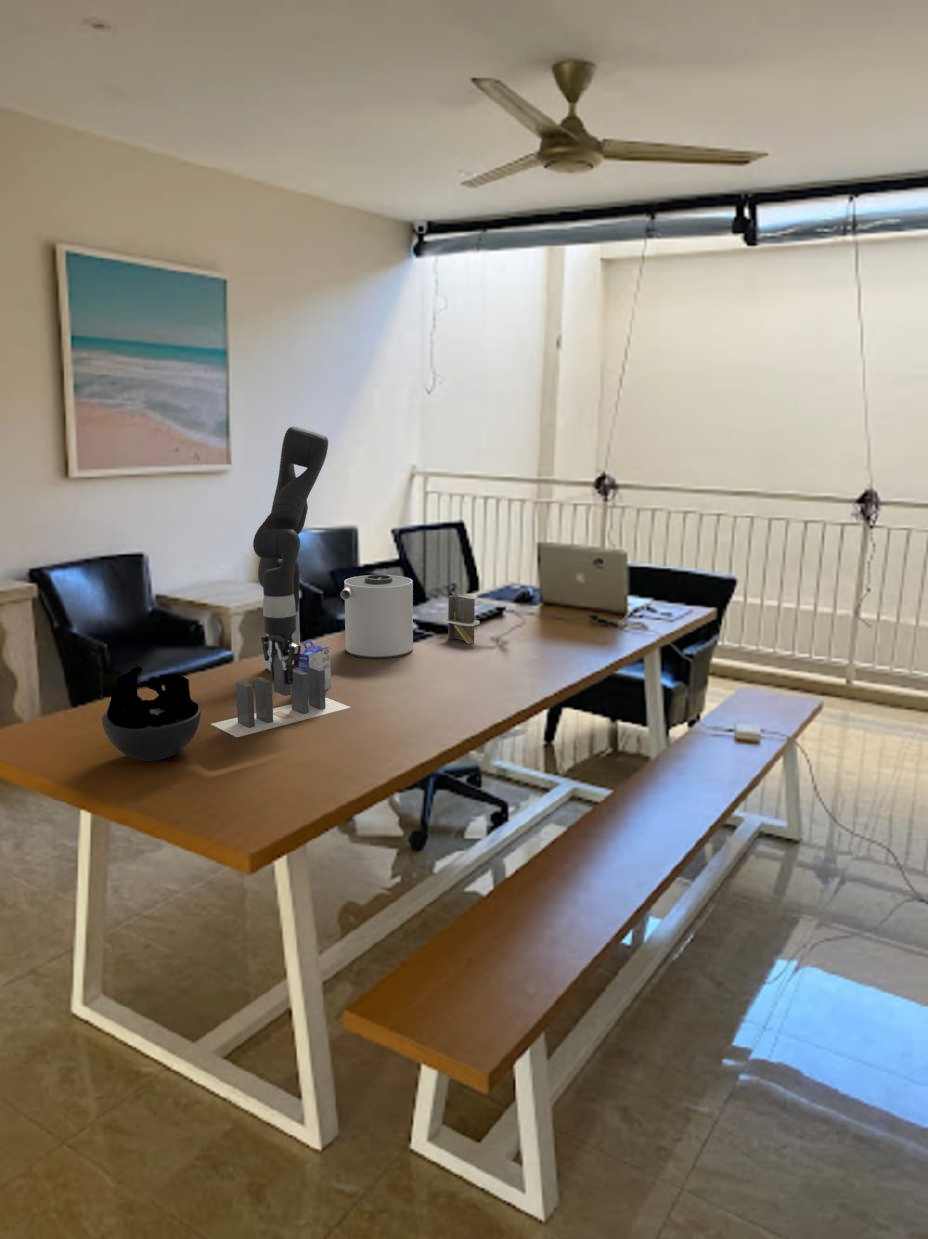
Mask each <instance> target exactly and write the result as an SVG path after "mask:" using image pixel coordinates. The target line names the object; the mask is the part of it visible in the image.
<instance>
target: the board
mask: <svg viewBox="0 0 928 1239" xmlns="http://www.w3.org/2000/svg"><path fill="white" fill-rule="evenodd" d="M325 705H326V708H325V709H321V710H320V709H317V708H315V707H312V706H310V705H309V699H308V706H309V713H306V714H302V713H299V712H297V711H295V710H292V703H291V704H287V705H283V706H278V707H273V722H271V723H266V722H264V721H261V720H259V719H257V718H256V712H254V719H255V727H251V728H248V727H245V726H243V725H241V724H239V723H238V716H236V717H233V718H229V719H224V720H221V721H217V722H213V723H210V725H211V726H213V727H215V728H217V729H219V730H221V731H223V732H225V733H227V734H229V735H231V736H233V737H235V738H239V737H244V736H247V735H251V734H255V733H259V732H263V731H266V730H270V729H274V728H277V727H278V728H279V727H282V726H285V725H289V724H293V723H294V724H295V723H298V722H301V721H305V720H308V719H309V720H310V719H313V718H316V717H320V716H324V715H327V714H333V713H335V712H339V711H343V710H346V709H351V706H348V705H346V704H343V703H341V702H340V701H339V702H338V701H336V700H333V699H330V698H328V697H326V696H325Z"/></svg>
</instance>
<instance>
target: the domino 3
mask: <svg viewBox="0 0 928 1239" xmlns="http://www.w3.org/2000/svg"><path fill="white" fill-rule="evenodd" d="M273 654H274V652H273ZM283 656H284V657H287V656H288V654H287V655H283ZM286 663H288V660H286ZM283 670H284V669H283V665H282V661H280V660H279V656H278V654H274V658H273V671H274V680H273V692H274V693H277V694H279V695H281V696H285V697H287V696H291V684H290V685H285V684H284V678H283Z"/></svg>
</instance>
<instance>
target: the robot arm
mask: <svg viewBox="0 0 928 1239" xmlns="http://www.w3.org/2000/svg"><path fill="white" fill-rule="evenodd" d="M328 448H329V438H328V437H327V436H326V435H324V434H323V433H319V432H315V431H313V430H310V429H306V428H301V427H298V426H290V427H288V429H287V430H286V431H285V433H284V436H283V441H282V446H281V452H280V453H281V454H280V462H279V471H278V477H277V484H276V489H275V493H274V496H273V501H272V506H271V511H270V513H269V514H268V516H267V517H266V518H265V520H264V521H263V522H262V523H261V525H260V526H259V527H258V529H257V531H255V534H254V537H253V542H252V548H253V551H254V552H255V555H257V557H258V558H260V559H259V564H258V568H257V569H258V570H257V576H258V578H257V579H258V582H259V584H260V586H261V588H263V600H262V612H263V614H262V615H263V632H264V634H266V635H264V636H261V646H262V652H263V658H264V660H265V662H266V668H267V670H268V671H269V672H270V678H271V681H274V671H273V658H274V654H278V656H279V660H280V661H282V665H283V669H284V670H283V678H284V684H285V685H290V684H293V670H294V668H297V667H299V659H300V651H301V648H302V647H301V642H300V641H301V640H300V616H299V615H300V614H299V607H300V605H299V604H300V579H301V578H300V573H301V572H300V566H299V561H298V556H299V551H300V548H301V539H300V536H299V535H300V533H301V532H302V530H303V528H304V526H305V523H306V520H307V514H308V509H309V506H308V501H307V500H308V497H309V496H310V493H311V491H312V489H313V488H314V485H315V483H316V482H317V479H318V476H319V475H320V473H321V470H322V468H323V466H324V464H325V461H326V458H327V454H328ZM295 465H296V466H299V467H303V468H306V469H305V470H304V471H303V472H302V473H300V475H299V476H296V471H295ZM273 652H274V654H273ZM287 654H288V656H287V657H284V656H283V655H287ZM286 660H288V663H286ZM294 660H295V662H294Z"/></svg>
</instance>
